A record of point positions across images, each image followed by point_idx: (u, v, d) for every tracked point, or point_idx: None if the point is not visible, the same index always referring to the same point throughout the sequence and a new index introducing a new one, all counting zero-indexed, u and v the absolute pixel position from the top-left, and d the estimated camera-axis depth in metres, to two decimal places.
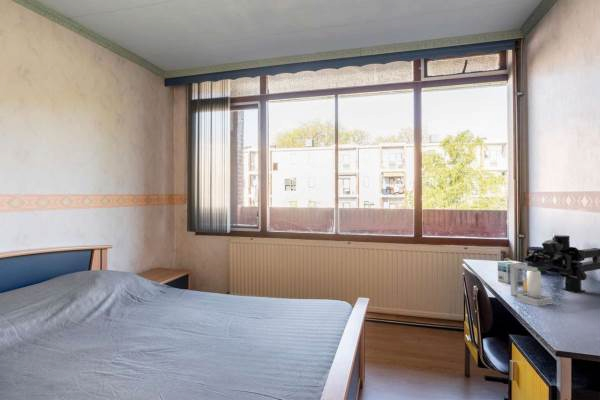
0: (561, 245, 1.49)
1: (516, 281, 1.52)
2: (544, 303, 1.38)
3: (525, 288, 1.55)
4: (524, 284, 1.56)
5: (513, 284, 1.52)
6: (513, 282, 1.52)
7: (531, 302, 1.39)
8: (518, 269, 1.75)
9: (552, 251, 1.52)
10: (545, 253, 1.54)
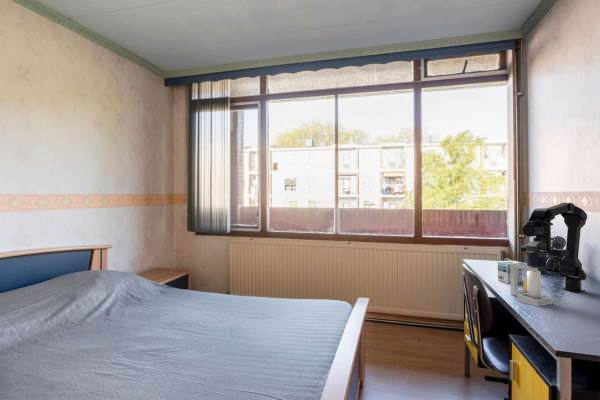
0: (541, 245, 1.43)
1: (516, 281, 1.52)
2: (544, 303, 1.38)
3: (525, 288, 1.55)
4: (524, 284, 1.56)
5: (513, 284, 1.52)
6: (513, 282, 1.52)
7: (531, 302, 1.39)
8: (518, 269, 1.75)
9: None
10: None
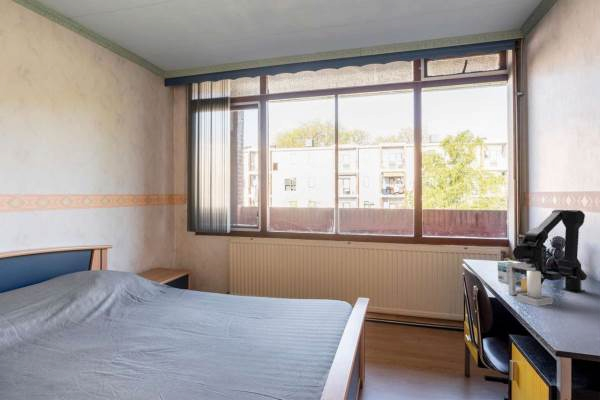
0: None
1: (514, 280, 1.53)
2: (544, 303, 1.38)
3: (523, 287, 1.56)
4: (522, 283, 1.57)
5: (511, 283, 1.53)
6: (511, 281, 1.53)
7: (531, 302, 1.39)
8: None
9: None
10: None
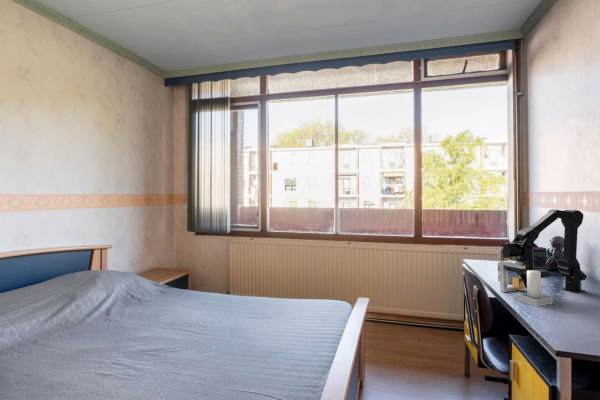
0: None
1: (505, 278, 1.57)
2: (544, 303, 1.38)
3: (514, 285, 1.61)
4: (513, 281, 1.61)
5: (502, 281, 1.57)
6: (502, 279, 1.57)
7: (531, 302, 1.39)
8: None
9: None
10: None
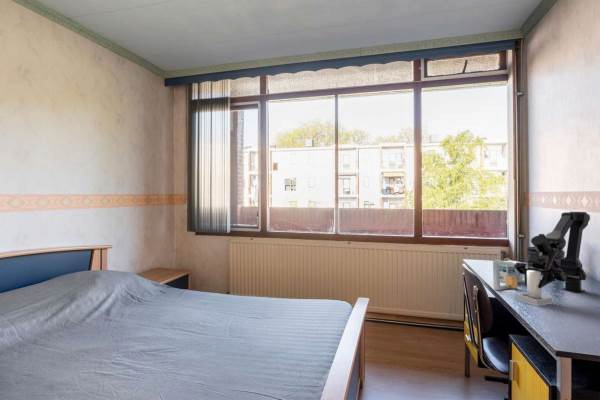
0: (546, 257, 1.40)
1: (498, 276, 1.61)
2: (544, 303, 1.38)
3: (507, 283, 1.64)
4: (506, 279, 1.65)
5: (496, 279, 1.61)
6: (495, 277, 1.61)
7: (531, 302, 1.39)
8: None
9: (540, 264, 1.43)
10: (534, 265, 1.46)
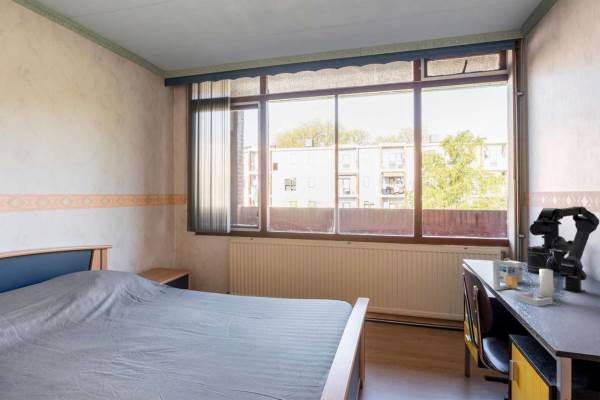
0: None
1: (498, 276, 1.61)
2: (544, 303, 1.38)
3: (507, 283, 1.64)
4: (506, 279, 1.65)
5: (496, 279, 1.61)
6: (495, 277, 1.61)
7: (531, 302, 1.39)
8: (518, 269, 1.75)
9: None
10: (554, 247, 1.51)
